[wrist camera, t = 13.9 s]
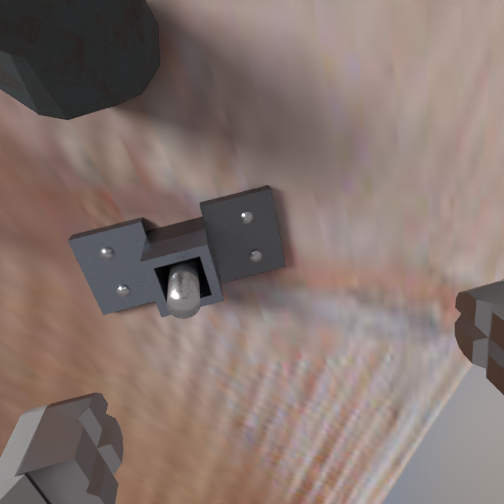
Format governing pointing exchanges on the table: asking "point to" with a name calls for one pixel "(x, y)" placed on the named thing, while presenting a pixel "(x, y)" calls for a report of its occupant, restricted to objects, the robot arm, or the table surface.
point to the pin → (183, 289)
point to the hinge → (181, 251)
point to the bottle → (76, 53)
